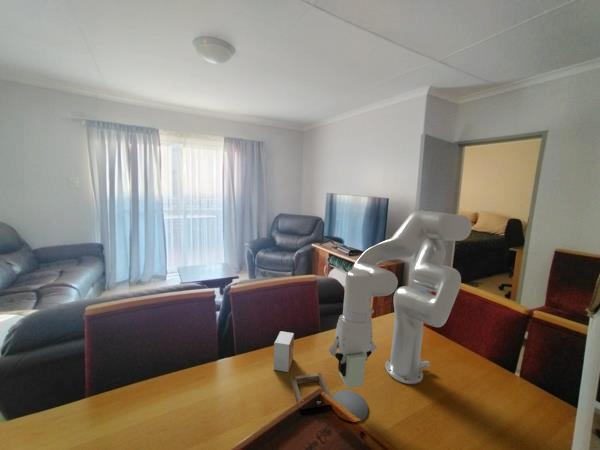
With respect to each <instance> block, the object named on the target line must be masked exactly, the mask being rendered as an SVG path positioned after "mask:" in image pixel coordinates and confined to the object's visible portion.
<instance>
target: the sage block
mask: <svg viewBox="0 0 600 450" xmlns="http://www.w3.org/2000/svg"><path fill="white" fill-rule="evenodd" d="M345 363H346V375H345V376H344V377H343V376H342V374H341V372H339V371H338V375H339V376H340V378H341V380H342V382H343V384H344V385H345V387H346V388H347V389H349V388H350V389H351V388H356V387H363V386H364V382H365V381H364V379H365V370H366V356H365V355H364V353H354V354H348V355H347V358H346V361H345Z"/></svg>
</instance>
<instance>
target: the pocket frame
mask: <svg viewBox="0 0 600 450" xmlns="http://www.w3.org/2000/svg"><path fill="white" fill-rule="evenodd" d="M313 382H318V384H319V386H320V388H321V390H323V391H324V392H325V393H326V394H327V395H328V396H329V397H331V398H332V396H333V395H332V394H331V392H330V390H329V388H328V385H327V383H326V381H325V378H324V376H323V374H322V372H315V373H309V374H308V373H307V374H302V375H301V374H300V375H295V376H294V375H293V376H291V377H290V384H291V388H292V391H293V394H294V398H295V402H296V404H297V403H299V402H300V401H301V400H302V401H303V398H302V395H301V392H300V389H299V386H298V385H299V384H306V383H313ZM323 391H322V392H323ZM332 399H333V398H332ZM316 403H317V404H318V405H319V404H320V403H321V401H317V402H316Z"/></svg>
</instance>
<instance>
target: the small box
mask: <svg viewBox="0 0 600 450" xmlns="http://www.w3.org/2000/svg"><path fill="white" fill-rule="evenodd" d="M294 340H295V333H294V332H289V331H288V332H287V331H281V330H280V331H279V333H278V335H277V337H276V339H275V341H274V343H273V370H274V371H280V372H284V373H289V372H290V371H289V370H290V369H291V365H292V362H293V360H294V345H295V344H294V343H295V341H294Z"/></svg>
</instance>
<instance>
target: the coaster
mask: <svg viewBox="0 0 600 450" xmlns="http://www.w3.org/2000/svg"><path fill="white" fill-rule="evenodd" d="M331 396H332V398H333V399H334V400H335V401H337V402H338V403H340V404H342V405H343V406H344V407H345V408H346V409H347V410H348V411H350V412H351V413H352V414H353V415H355V416H356V417H357V418H359V419H360V420H362V421H363V420H365V419H366V418H367V416H368V413H369V407H368V403H367V400H365V398H364V397H363V396H362V395H361V394H359V393H357V392H355V391H353V390H348V389H341V390H339V391H336V392H334V394H333V395H331Z"/></svg>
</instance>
